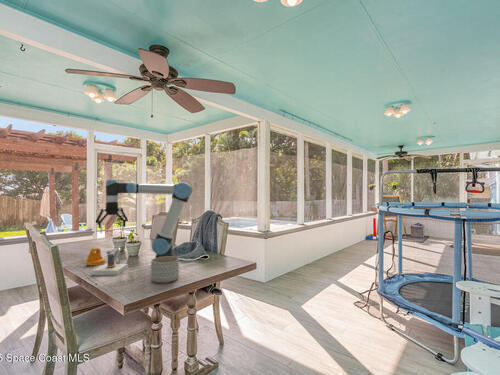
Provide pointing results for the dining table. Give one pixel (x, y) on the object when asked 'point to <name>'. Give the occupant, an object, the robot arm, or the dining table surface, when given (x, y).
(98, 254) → the bracket
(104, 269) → the socket block
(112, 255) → the plug
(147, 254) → the dining table surface
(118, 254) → the handle
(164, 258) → the planter
